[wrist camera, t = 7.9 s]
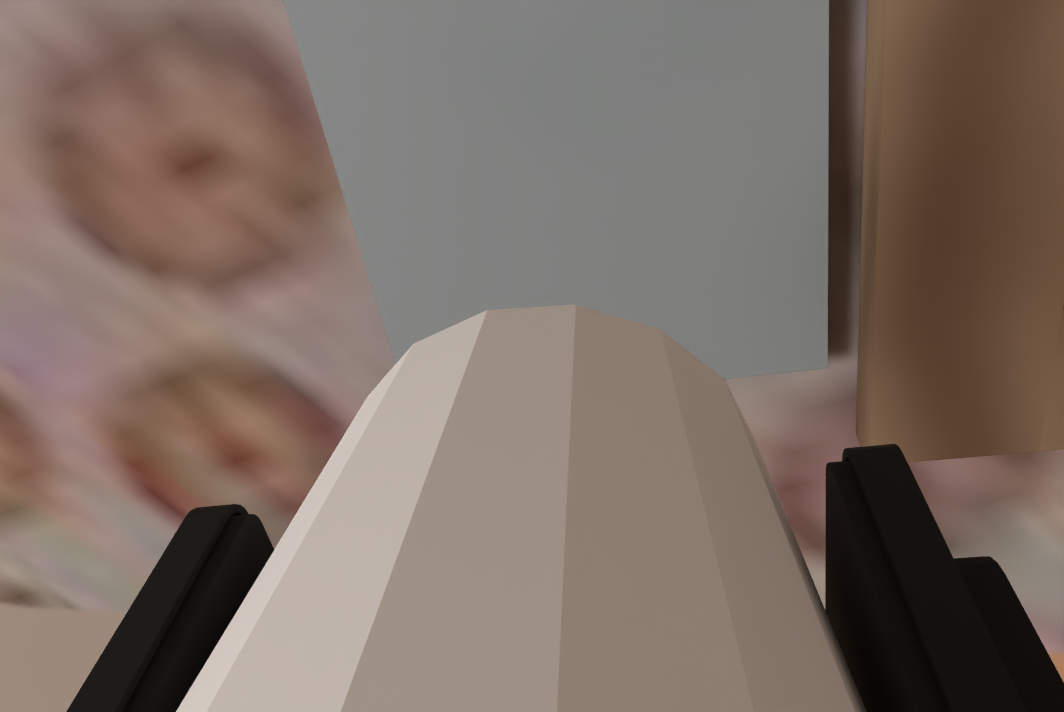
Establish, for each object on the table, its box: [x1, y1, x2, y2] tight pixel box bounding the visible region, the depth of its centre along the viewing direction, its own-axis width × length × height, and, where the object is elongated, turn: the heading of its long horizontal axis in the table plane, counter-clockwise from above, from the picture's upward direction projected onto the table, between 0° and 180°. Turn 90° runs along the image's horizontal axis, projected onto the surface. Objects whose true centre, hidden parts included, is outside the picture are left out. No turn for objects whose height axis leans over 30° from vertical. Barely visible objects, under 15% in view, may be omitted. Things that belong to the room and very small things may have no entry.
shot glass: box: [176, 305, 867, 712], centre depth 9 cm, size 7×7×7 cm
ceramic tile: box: [283, 0, 829, 379], centre depth 21 cm, size 12×12×1 cm
